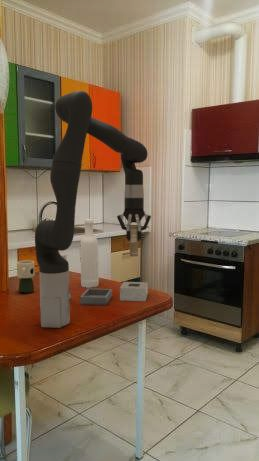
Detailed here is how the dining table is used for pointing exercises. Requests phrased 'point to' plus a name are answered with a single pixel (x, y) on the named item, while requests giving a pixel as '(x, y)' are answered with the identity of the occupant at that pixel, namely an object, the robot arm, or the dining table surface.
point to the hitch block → (134, 291)
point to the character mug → (25, 275)
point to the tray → (96, 297)
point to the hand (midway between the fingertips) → (134, 240)
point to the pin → (133, 240)
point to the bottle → (89, 257)
